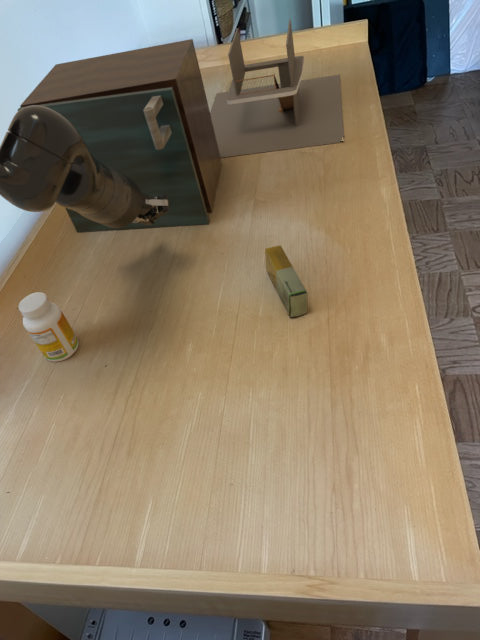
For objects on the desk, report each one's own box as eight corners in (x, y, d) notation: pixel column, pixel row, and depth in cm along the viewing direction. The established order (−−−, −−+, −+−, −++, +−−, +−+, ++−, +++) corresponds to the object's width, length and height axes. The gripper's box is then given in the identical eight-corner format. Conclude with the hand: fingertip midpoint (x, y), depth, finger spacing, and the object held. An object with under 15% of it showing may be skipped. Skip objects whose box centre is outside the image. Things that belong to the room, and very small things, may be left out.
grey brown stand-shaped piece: (339, 74, 132) (335, -3, 120) (344, 141, 107) (339, 53, 96) (216, 93, 138) (201, 22, 127) (194, 160, 114) (172, 80, 102)
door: (202, 242, 92) (161, 105, 75) (66, 249, 99) (1, 124, 82) (209, 221, 96) (172, 86, 80) (79, 229, 103) (19, 107, 86)
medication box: (308, 314, 75) (308, 292, 72) (290, 318, 74) (289, 297, 72) (281, 264, 83) (280, 243, 81) (264, 268, 83) (263, 247, 80)
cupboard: (212, 213, 98) (175, 78, 81) (79, 229, 103) (19, 105, 86) (222, 164, 111) (192, 38, 94) (103, 180, 116) (55, 64, 99)
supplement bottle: (65, 331, 82) (37, 283, 76) (86, 343, 79) (59, 295, 73) (37, 354, 80) (5, 307, 73) (58, 368, 77) (26, 320, 70)
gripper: (148, 160, 71) (185, 191, 88) (57, 174, 73) (110, 201, 90) (153, 217, 71) (189, 236, 88) (61, 228, 73) (114, 245, 90)
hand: (149, 218), depth 89 cm, fingers closed
